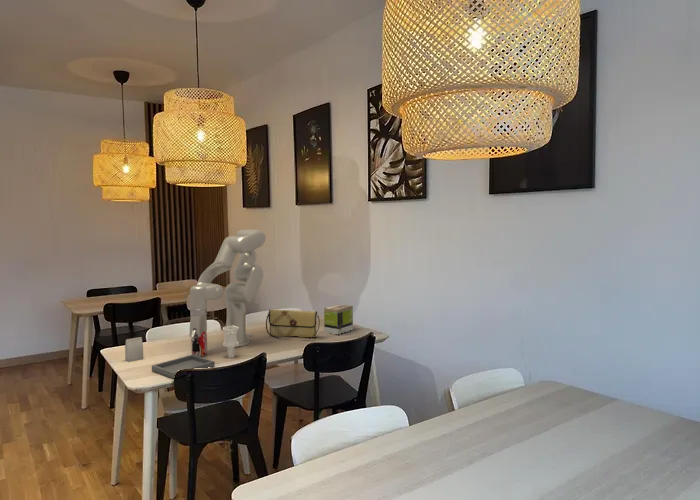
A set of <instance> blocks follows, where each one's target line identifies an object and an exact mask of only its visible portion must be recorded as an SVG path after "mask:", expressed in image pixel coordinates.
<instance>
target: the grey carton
mask: <svg viewBox="0 0 700 500" xmlns="http://www.w3.org/2000/svg"><path fill="white" fill-rule="evenodd" d="M124 345H125V346H124V348H125V349H124V355H125V356H124V357H125V361H126V362H127V363H130V362H136V361H142V360H144V344H143V337H142V336H141V337H140V336H139V337H133V338H127V339H125V344H124Z"/></svg>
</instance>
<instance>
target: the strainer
mask: <svg viewBox="0 0 700 500" xmlns="http://www.w3.org/2000/svg"><path fill="white" fill-rule="evenodd" d="M231 328H233V329H231ZM222 331H223V332H224V333H223V335H224V337H223V338H224V341H223V343H222V347H225V348H227V358H231V359H232V358H234V357H235V348H236V346H238V345H239V342H237V331H238V327H237V326H234V325H233V326H227V325H226V326H223V327H222ZM229 333H230V334H229Z"/></svg>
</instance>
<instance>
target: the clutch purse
mask: <svg viewBox="0 0 700 500" xmlns="http://www.w3.org/2000/svg"><path fill="white" fill-rule="evenodd" d="M317 320H318V327H317ZM268 324H269V330H268ZM319 329H320V316H319V314H318V311H313V310H312V311H311V310H309V311H308V310H290V309H289V310H288V309H287V310H286V309H269V310H268V311H267V315H266V319H265V330H266V332H267V334H268V335H269V336H270V337H273V338H276V339H279V338H280V337H283V336H302V337H301V338H303V337H311V338H308V339H309V340H311V339H313V338H312V337H316V338H317V333H318V331H319Z"/></svg>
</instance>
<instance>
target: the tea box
mask: <svg viewBox="0 0 700 500" xmlns="http://www.w3.org/2000/svg"><path fill="white" fill-rule="evenodd" d="M353 309H354V308H353V305H349V304H341V303H339V304H336V305H332V306H328V307H324V309H323V310H324V311H323V315H324V316H323V318H324V319H323V322H324V323H323V325H324V330H323V331H324V333H325V332H328V333H333V334H337V335H336V336H339V335H338V334H340V335H342V334H341V333H343V334H345V333H344V332H346V333H348V332H351V331H353V330H354V325H353V324H354V318H353V317H354V316H353V315H354V314H353V312H354V310H353ZM350 330H351V331H350ZM347 331H348V332H347ZM328 333H327V334H328ZM333 334H332V335H333Z"/></svg>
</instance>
